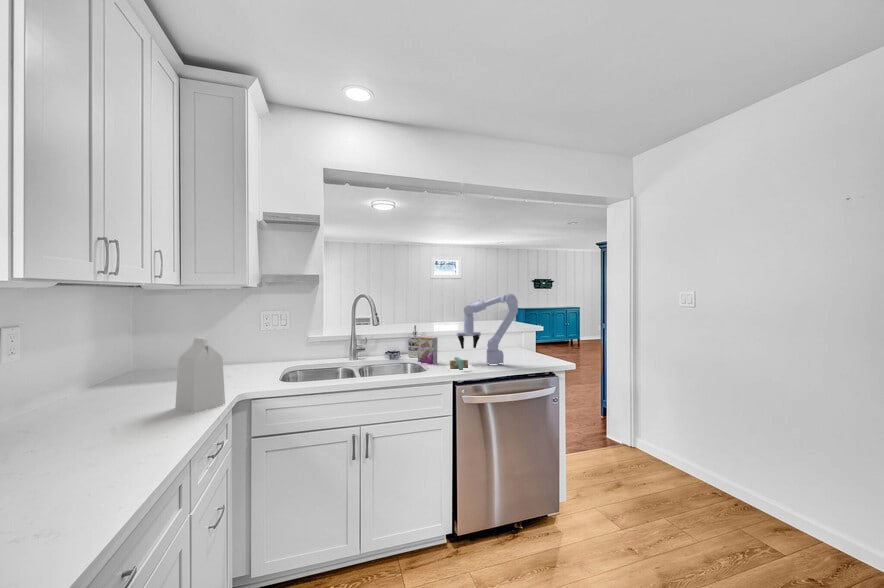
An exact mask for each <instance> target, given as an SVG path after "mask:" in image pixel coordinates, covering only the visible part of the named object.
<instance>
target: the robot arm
mask: <svg viewBox="0 0 884 588" xmlns="http://www.w3.org/2000/svg"><path fill="white" fill-rule="evenodd" d="M500 303H501V304H502V303H503V304H506V305H507V308H508V312H507V314H506V316H505V317H504V318H503V320H502V322H501V324H500V325H499V327H498V329H497V330H496V332H495V333H494V334H493V336H492V337H490V338H489V339H488V341H487V348H486V364H487V363H489V364H499V363H503V364H504V352H503V351H502V350H500V349H499V344H500V342H501V340H502V339H503V337H504V335H505V334H506V332H507V331H508V329H509V328H510V325H512V322H513V321H514V319H515V318H516V316H517V315H518V313H519V306H518V303H519V301H518V298H517V297H516V295H514V294H513V293H508V294H503V295H498V296H497V297H496V296H495V297H494V298H490V299H488V300H486V301H485V300H480V299H479V300H477V301H476V302H473V303H472V302H471V303H470V304H467V305H466V306H464V307H463V313H464V314H463V332H456V337H457V339H458V340H459V343H460V348H461V349H463V350H464V348H465V347H464V345H465V337H472V338H473V339H472V341H473V344H472V346H473V347H472V348H473V349H476V348H477V344H478V341H479V340H480V336H481V335H482V334H481V332H478V331H474V329H475V328H474V313H479V312H481V311H484V310H486V308H487V307H489V306H492V305H496V304H500Z"/></svg>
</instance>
